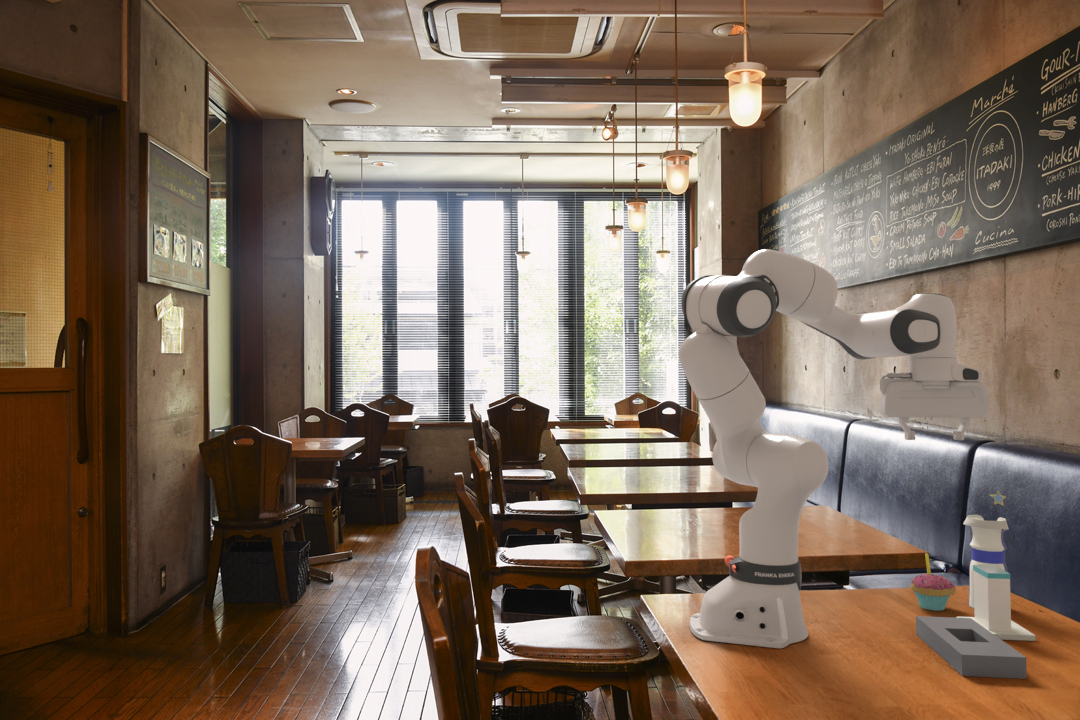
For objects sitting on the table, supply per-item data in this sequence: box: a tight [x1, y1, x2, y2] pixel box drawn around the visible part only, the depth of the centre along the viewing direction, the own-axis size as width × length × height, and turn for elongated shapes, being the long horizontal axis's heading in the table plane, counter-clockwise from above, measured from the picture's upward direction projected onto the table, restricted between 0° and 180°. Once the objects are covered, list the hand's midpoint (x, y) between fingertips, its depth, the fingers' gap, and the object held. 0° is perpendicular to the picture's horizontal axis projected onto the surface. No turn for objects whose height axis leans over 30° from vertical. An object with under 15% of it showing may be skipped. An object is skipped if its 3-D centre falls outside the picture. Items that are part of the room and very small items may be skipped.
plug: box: [973, 565, 1012, 631], centre depth 143 cm, size 4×6×11 cm
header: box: [915, 615, 1028, 680], centre depth 130 cm, size 10×20×4 cm, turn 172°
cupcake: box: [910, 549, 956, 612], centre depth 158 cm, size 9×8×12 cm
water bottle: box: [962, 490, 1010, 609], centre depth 158 cm, size 8×8×25 cm
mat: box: [955, 616, 1037, 642], centre depth 143 cm, size 10×10×1 cm
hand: (934, 439), depth 149 cm, fingers open, 8 cm apart
